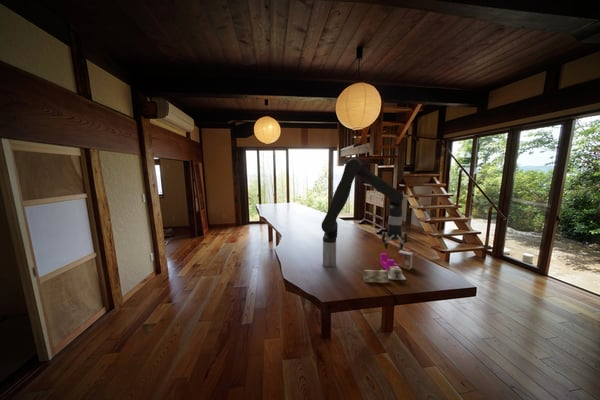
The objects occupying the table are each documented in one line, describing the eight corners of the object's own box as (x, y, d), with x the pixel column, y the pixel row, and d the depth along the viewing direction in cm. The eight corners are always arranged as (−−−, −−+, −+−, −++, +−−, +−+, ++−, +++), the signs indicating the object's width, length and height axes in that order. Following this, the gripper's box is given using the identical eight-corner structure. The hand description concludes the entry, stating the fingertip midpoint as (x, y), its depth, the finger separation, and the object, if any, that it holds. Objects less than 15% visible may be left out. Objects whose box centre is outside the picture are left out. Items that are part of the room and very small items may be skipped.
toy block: (398, 272, 132) (398, 260, 131) (388, 272, 132) (388, 260, 132) (389, 263, 147) (389, 253, 146) (380, 263, 147) (380, 253, 147)
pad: (385, 279, 125) (385, 277, 125) (380, 270, 136) (380, 269, 136) (405, 280, 124) (406, 278, 124) (399, 271, 135) (399, 270, 135)
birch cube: (388, 274, 129) (392, 279, 124) (389, 266, 129) (392, 270, 123) (397, 274, 129) (401, 279, 123) (398, 266, 128) (401, 270, 123)
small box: (397, 266, 142) (397, 252, 141) (399, 264, 146) (400, 249, 145) (409, 270, 137) (410, 254, 136) (412, 267, 141) (413, 252, 140)
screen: (364, 281, 123) (364, 272, 122) (363, 279, 125) (363, 269, 125) (389, 282, 121) (389, 273, 120) (387, 280, 124) (387, 270, 123)
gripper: (384, 224, 123) (383, 250, 125) (409, 225, 122) (408, 251, 124) (381, 221, 131) (379, 246, 133) (404, 222, 129) (403, 247, 131)
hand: (393, 248), depth 128 cm, fingers open, 8 cm apart
